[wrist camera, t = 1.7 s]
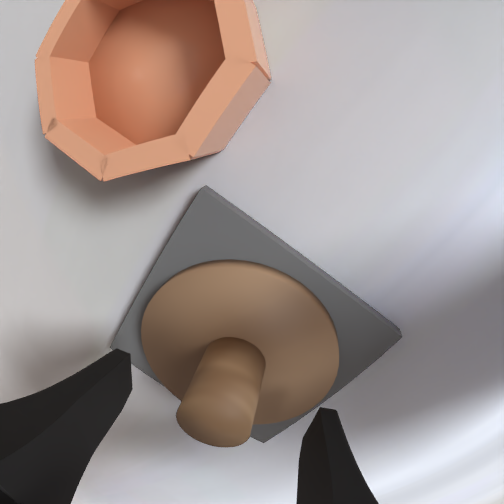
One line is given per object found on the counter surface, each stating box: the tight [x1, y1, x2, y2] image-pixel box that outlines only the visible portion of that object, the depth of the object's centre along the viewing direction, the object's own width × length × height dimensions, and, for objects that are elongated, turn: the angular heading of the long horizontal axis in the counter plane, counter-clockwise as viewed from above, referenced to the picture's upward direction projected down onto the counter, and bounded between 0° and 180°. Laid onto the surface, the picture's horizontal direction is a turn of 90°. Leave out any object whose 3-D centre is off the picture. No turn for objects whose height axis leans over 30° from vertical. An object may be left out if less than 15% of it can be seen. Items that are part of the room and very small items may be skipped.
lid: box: [141, 259, 339, 447], centre depth 12 cm, size 9×9×4 cm
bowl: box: [35, 0, 271, 181], centre depth 9 cm, size 8×8×3 cm
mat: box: [110, 186, 402, 443], centre depth 14 cm, size 10×10×1 cm
